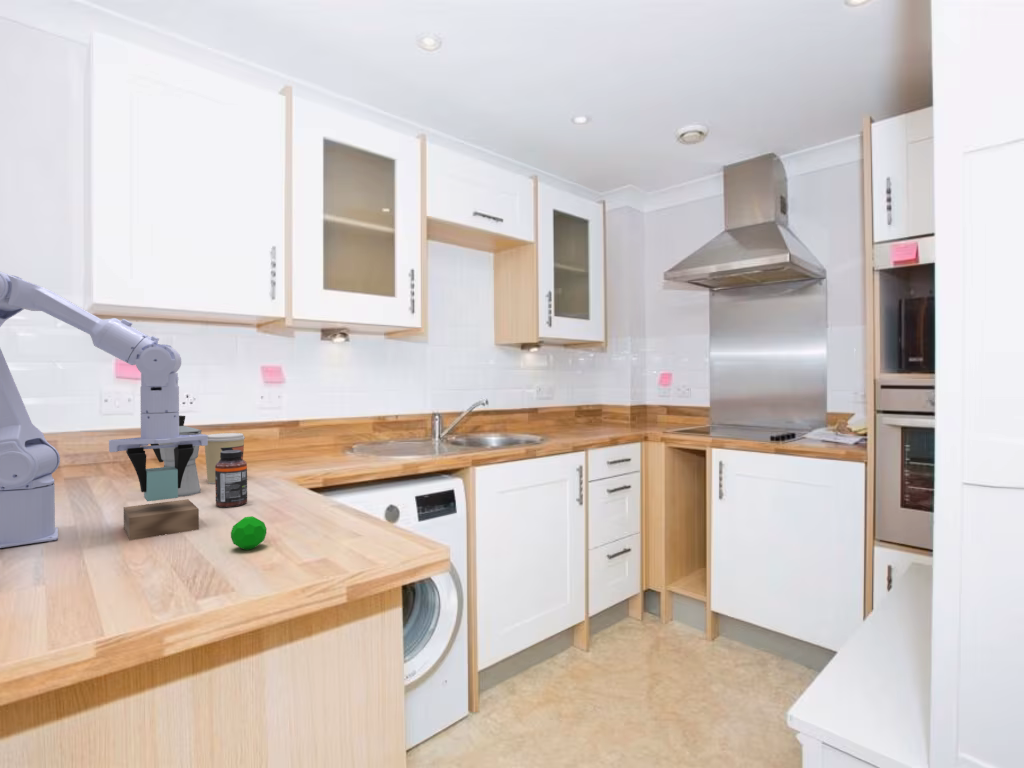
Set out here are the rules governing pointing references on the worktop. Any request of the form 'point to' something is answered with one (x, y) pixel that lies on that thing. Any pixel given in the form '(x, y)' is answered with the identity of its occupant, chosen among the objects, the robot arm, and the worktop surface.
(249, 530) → the polyhedron
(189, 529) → the walnut block
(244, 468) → the supplement bottle
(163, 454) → the coffee maker
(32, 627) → the worktop surface
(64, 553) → the worktop surface
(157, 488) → the teal block
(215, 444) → the coffee cup
